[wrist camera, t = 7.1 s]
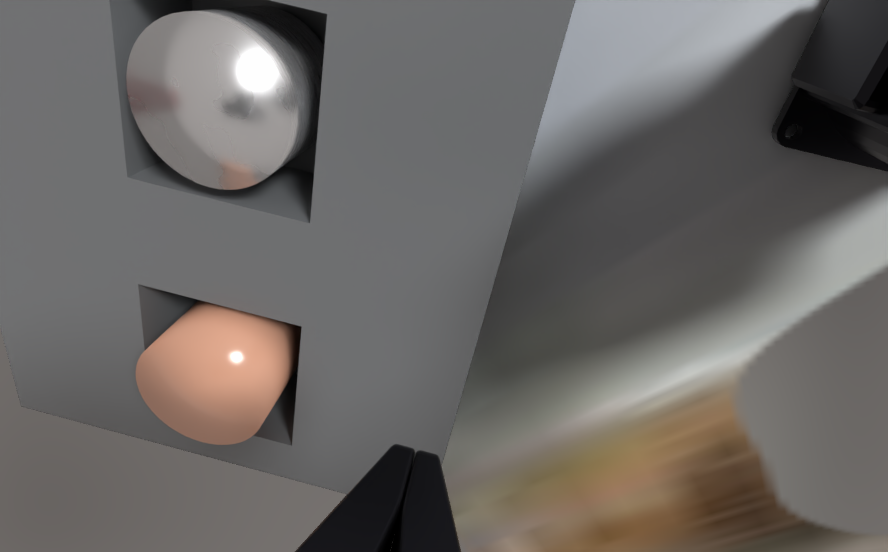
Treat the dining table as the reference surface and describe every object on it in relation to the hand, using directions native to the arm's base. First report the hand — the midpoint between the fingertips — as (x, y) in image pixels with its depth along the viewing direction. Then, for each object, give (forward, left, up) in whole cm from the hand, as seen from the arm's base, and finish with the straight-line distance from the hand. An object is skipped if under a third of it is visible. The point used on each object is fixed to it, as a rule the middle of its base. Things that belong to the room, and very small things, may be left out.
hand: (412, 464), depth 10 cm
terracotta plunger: (+8, +7, -11) cm, 15 cm away
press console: (+8, +2, -13) cm, 15 cm away
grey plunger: (+8, -3, -12) cm, 14 cm away
